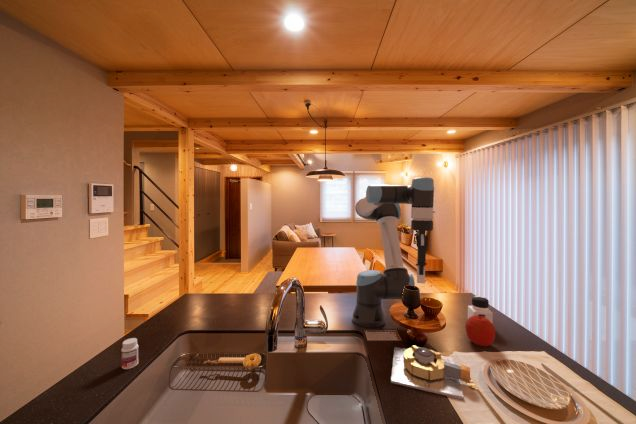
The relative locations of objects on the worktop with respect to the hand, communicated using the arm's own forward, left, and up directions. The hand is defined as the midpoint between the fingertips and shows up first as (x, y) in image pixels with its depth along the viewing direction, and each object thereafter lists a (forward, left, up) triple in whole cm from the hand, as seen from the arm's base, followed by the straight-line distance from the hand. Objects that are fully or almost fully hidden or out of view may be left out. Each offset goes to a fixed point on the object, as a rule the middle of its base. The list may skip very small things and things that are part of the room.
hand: (420, 282), depth 95 cm
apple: (+23, +15, -27) cm, 38 cm away
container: (+27, +33, -27) cm, 50 cm away
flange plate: (+1, -11, -26) cm, 29 cm away
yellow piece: (+4, -12, -25) cm, 28 cm away
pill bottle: (-93, -43, -27) cm, 106 cm away
